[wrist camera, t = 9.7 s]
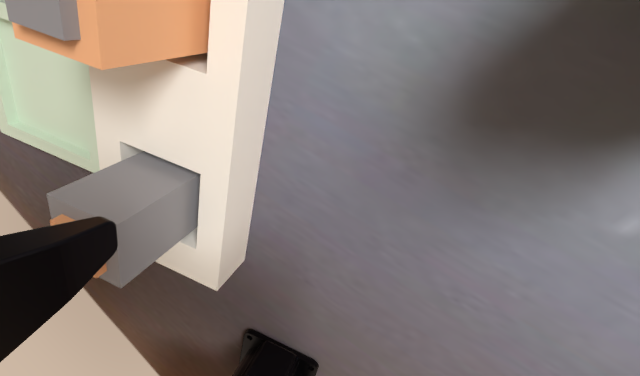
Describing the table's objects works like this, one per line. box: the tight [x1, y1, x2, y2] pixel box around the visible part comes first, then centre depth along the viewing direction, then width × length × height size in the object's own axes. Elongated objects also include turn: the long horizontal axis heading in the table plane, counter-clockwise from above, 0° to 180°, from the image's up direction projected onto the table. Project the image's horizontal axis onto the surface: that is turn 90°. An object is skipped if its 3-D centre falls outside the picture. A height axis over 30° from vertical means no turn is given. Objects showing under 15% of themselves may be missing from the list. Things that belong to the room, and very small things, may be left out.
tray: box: [0, 0, 100, 173], centre depth 25 cm, size 10×10×1 cm
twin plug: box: [47, 151, 201, 288], centre depth 20 cm, size 4×4×9 cm
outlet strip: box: [89, 0, 284, 291], centre depth 20 cm, size 22×9×4 cm, turn 166°
